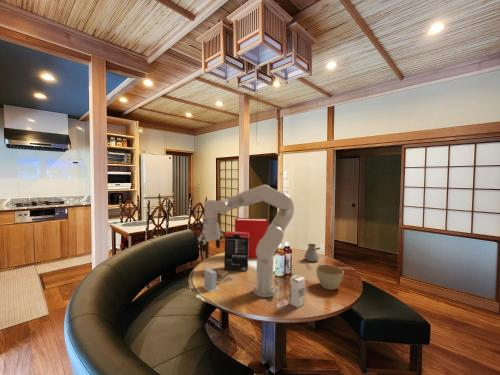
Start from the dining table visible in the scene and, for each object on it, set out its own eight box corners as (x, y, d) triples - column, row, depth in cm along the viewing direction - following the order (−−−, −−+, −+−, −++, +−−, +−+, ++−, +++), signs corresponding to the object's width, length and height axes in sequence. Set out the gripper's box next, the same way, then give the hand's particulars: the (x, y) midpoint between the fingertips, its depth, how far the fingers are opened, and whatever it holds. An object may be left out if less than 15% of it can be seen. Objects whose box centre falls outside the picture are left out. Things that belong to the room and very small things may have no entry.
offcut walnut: (227, 275, 152) (227, 271, 152) (222, 279, 146) (222, 275, 146) (222, 274, 154) (222, 270, 154) (217, 277, 148) (217, 273, 148)
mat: (218, 289, 137) (218, 288, 137) (210, 292, 133) (210, 291, 133) (210, 283, 144) (210, 283, 144) (201, 286, 140) (201, 286, 140)
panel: (216, 288, 137) (216, 272, 136) (211, 290, 135) (211, 273, 134) (209, 284, 143) (209, 268, 142) (204, 285, 141) (204, 269, 140)
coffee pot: (302, 258, 194) (302, 240, 193) (315, 257, 195) (315, 240, 195) (312, 267, 173) (313, 248, 172) (326, 267, 174) (327, 247, 174)
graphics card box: (248, 267, 171) (249, 231, 169) (247, 271, 164) (248, 233, 162) (225, 266, 172) (226, 230, 171) (223, 270, 165) (224, 232, 164)
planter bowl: (325, 294, 133) (326, 275, 133) (310, 282, 149) (311, 265, 148) (349, 291, 138) (349, 273, 137) (332, 279, 153) (333, 263, 153)
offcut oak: (229, 279, 151) (229, 276, 151) (219, 283, 146) (219, 279, 145) (225, 277, 154) (225, 274, 154) (215, 281, 149) (215, 277, 149)
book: (266, 255, 198) (267, 218, 197) (267, 258, 190) (267, 220, 189) (235, 254, 199) (235, 218, 198) (234, 258, 191) (234, 219, 190)
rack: (232, 279, 150) (232, 276, 150) (218, 284, 143) (218, 281, 143) (216, 271, 163) (216, 268, 163) (203, 275, 156) (203, 272, 156)
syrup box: (295, 300, 126) (296, 274, 126) (304, 304, 122) (305, 277, 122) (289, 303, 123) (289, 276, 122) (298, 308, 118) (299, 280, 118)
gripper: (201, 223, 128) (201, 254, 129) (226, 220, 140) (226, 247, 141) (194, 221, 134) (194, 250, 135) (219, 218, 146) (219, 245, 146)
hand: (211, 249), depth 138 cm, fingers open, 9 cm apart
